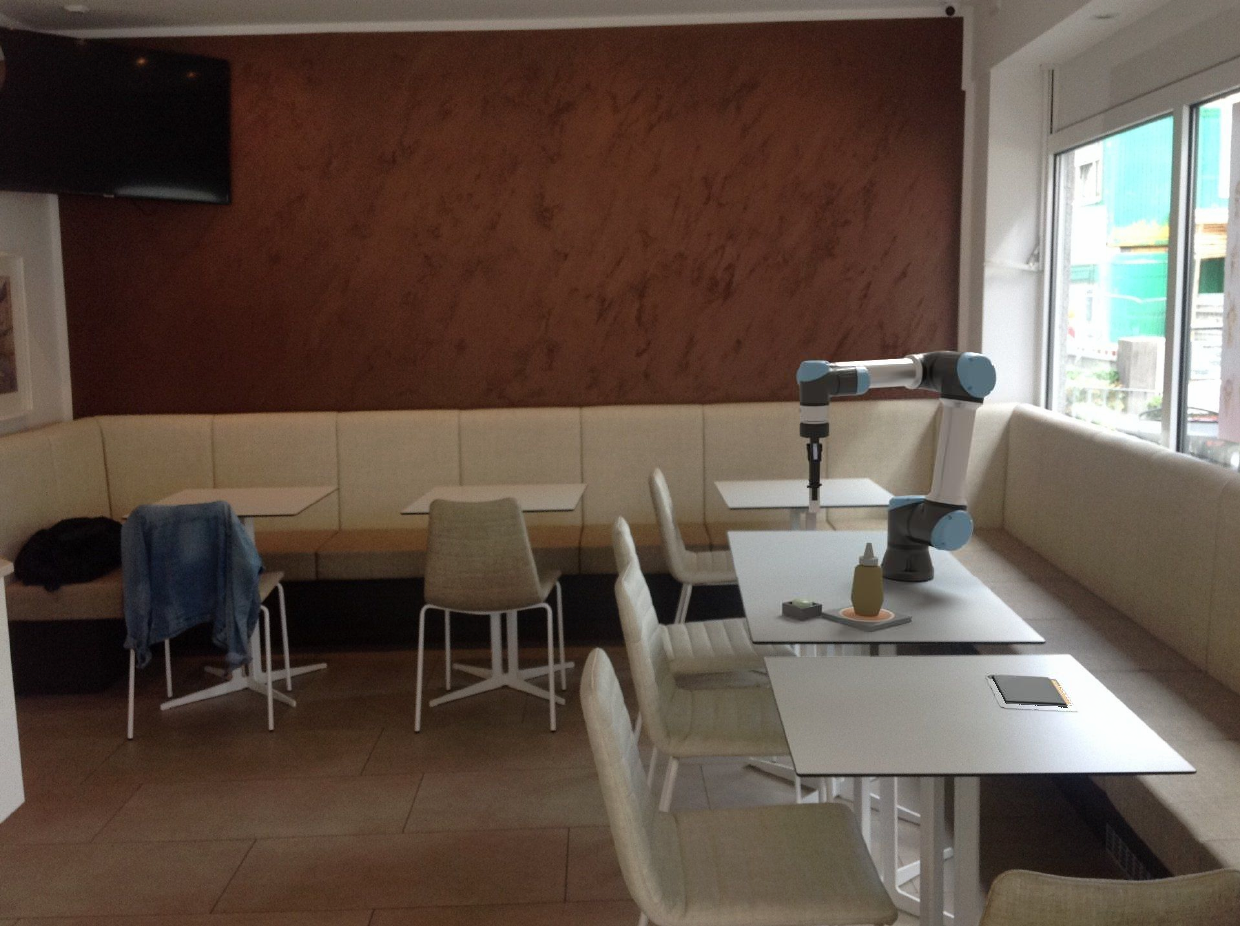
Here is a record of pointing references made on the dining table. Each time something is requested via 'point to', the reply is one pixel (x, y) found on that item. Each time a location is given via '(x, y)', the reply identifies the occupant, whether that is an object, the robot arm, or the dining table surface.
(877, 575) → the squeeze bottle
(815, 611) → the button housing
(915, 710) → the dining table surface
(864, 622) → the print board
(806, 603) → the button
